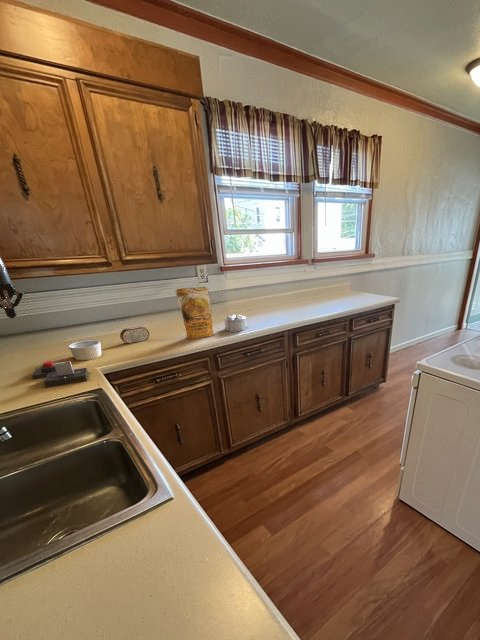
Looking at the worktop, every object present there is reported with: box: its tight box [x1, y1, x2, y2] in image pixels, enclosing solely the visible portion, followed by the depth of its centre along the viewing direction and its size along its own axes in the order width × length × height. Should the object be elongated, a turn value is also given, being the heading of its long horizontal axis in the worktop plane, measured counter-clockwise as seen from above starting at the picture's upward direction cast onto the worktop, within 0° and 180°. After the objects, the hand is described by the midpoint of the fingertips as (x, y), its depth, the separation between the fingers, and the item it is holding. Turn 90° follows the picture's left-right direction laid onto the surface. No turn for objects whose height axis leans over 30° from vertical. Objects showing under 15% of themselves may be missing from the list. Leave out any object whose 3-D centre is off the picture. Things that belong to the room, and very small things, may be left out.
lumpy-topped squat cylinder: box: [224, 313, 247, 333], centre depth 208 cm, size 10×13×9 cm
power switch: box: [31, 364, 56, 380], centre depth 141 cm, size 12×9×4 cm
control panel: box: [43, 367, 89, 389], centre depth 135 cm, size 14×10×3 cm
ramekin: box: [68, 339, 102, 361], centre depth 160 cm, size 13×13×7 cm
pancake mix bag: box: [175, 286, 215, 340], centre depth 188 cm, size 7×19×28 cm, turn 122°
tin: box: [119, 325, 150, 344], centre depth 183 cm, size 15×3×8 cm, turn 134°
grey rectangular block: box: [53, 360, 74, 376], centre depth 133 cm, size 6×2×5 cm, turn 118°
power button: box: [42, 360, 55, 368], centre depth 140 cm, size 4×4×2 cm
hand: (12, 317), depth 129 cm, fingers closed
